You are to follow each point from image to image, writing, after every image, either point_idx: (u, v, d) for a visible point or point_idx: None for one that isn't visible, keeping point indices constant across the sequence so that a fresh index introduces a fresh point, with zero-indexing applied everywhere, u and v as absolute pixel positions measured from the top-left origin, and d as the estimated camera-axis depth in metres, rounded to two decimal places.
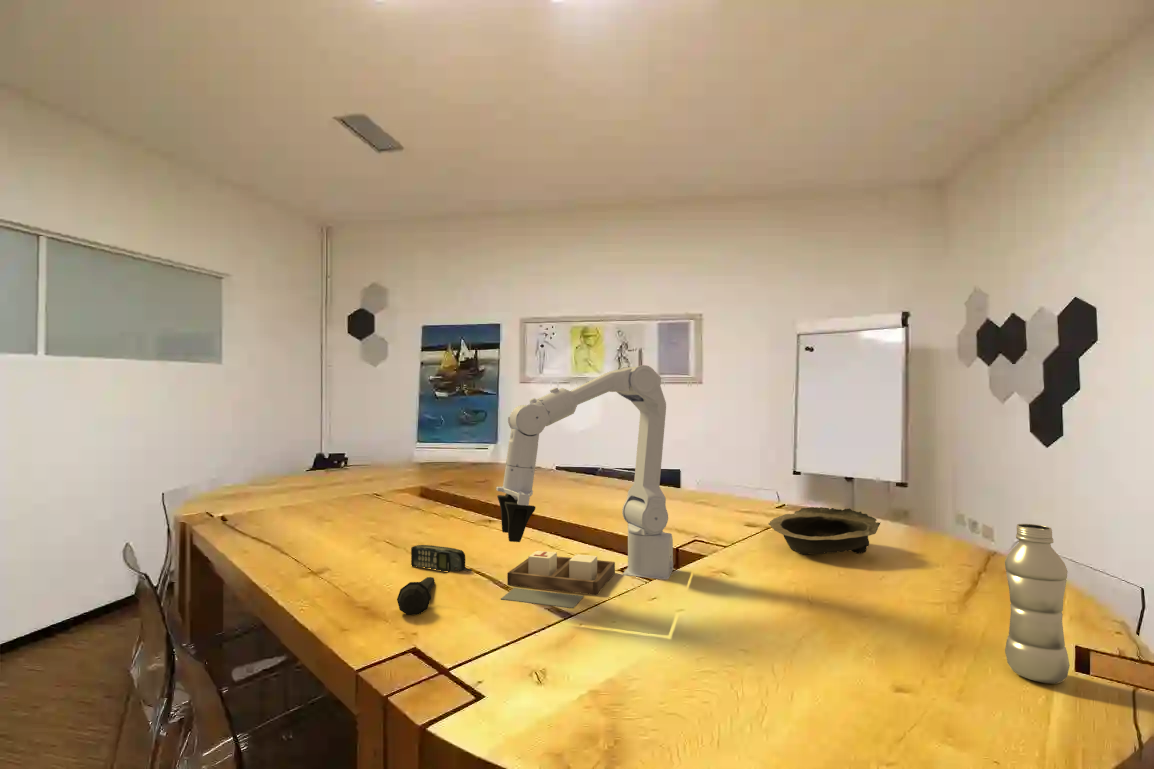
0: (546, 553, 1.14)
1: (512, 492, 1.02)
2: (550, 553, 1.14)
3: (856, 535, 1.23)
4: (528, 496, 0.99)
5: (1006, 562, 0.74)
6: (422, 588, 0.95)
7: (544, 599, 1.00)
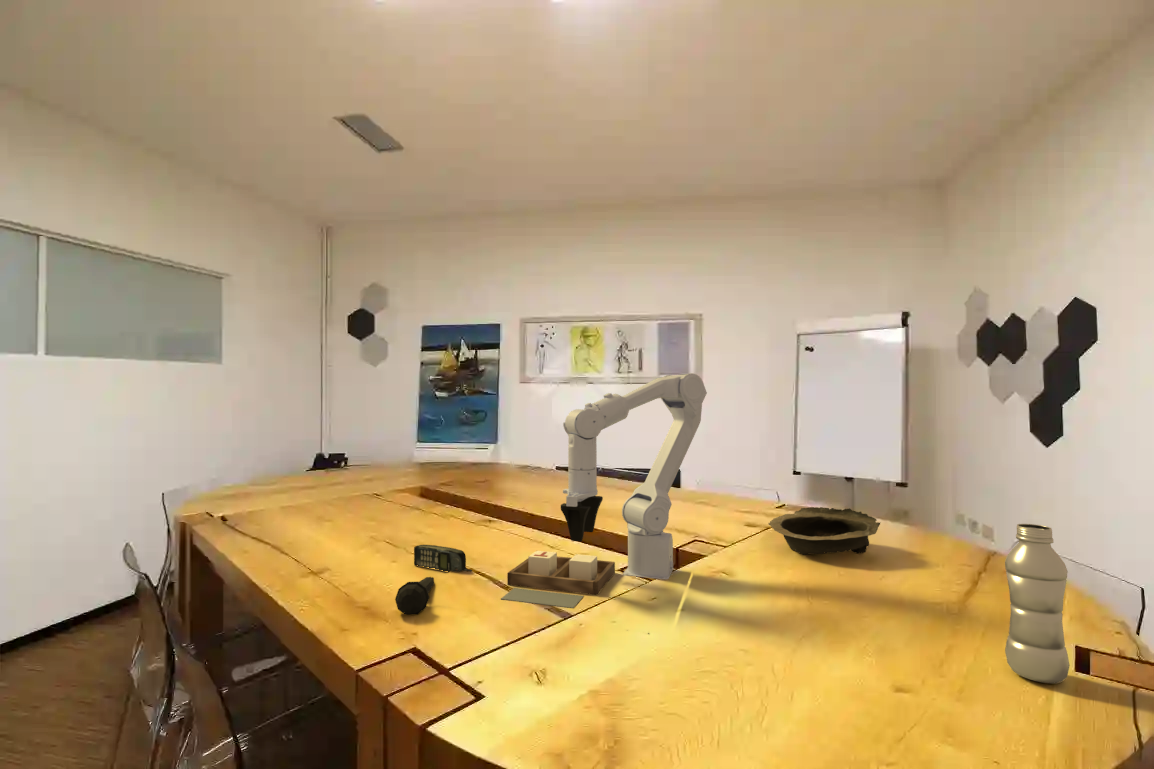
0: (546, 553, 1.14)
1: None
2: (550, 553, 1.14)
3: (856, 535, 1.23)
4: (574, 498, 1.04)
5: (1006, 562, 0.74)
6: (420, 588, 0.95)
7: (544, 599, 1.00)
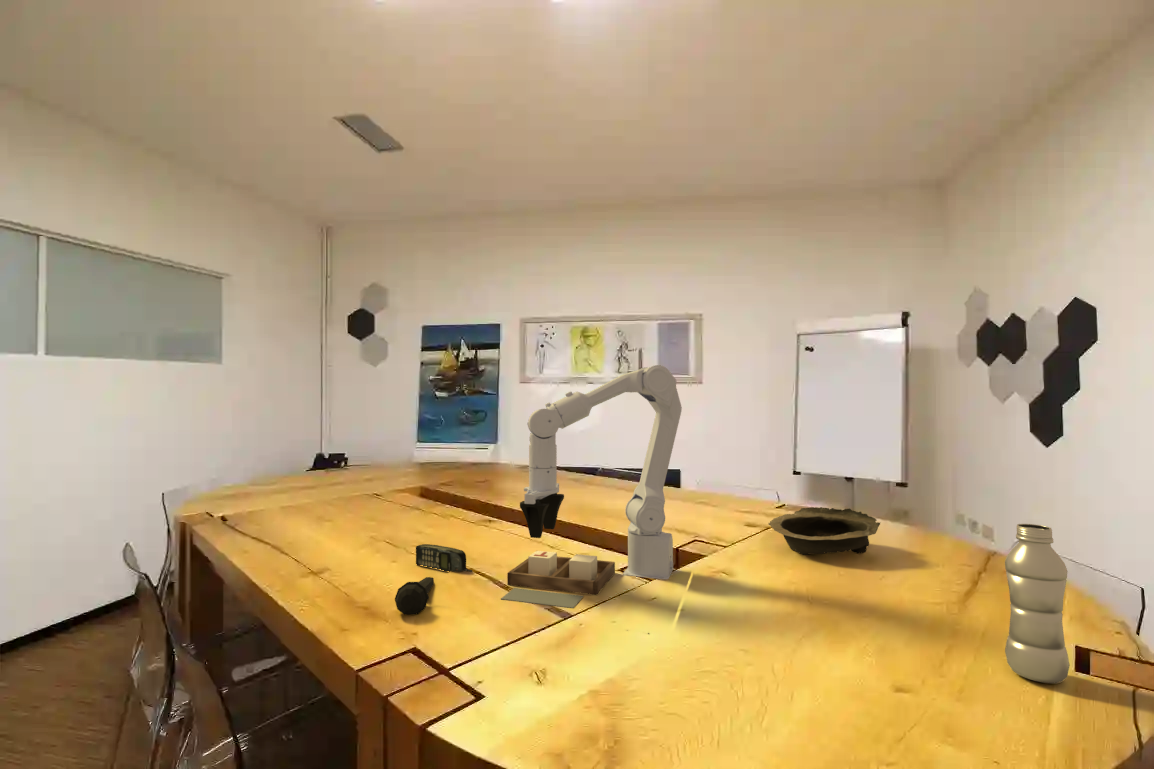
0: (546, 553, 1.14)
1: (527, 492, 1.10)
2: (550, 553, 1.14)
3: (856, 535, 1.23)
4: (532, 495, 1.06)
5: (1006, 562, 0.74)
6: (420, 588, 0.95)
7: (544, 599, 1.00)
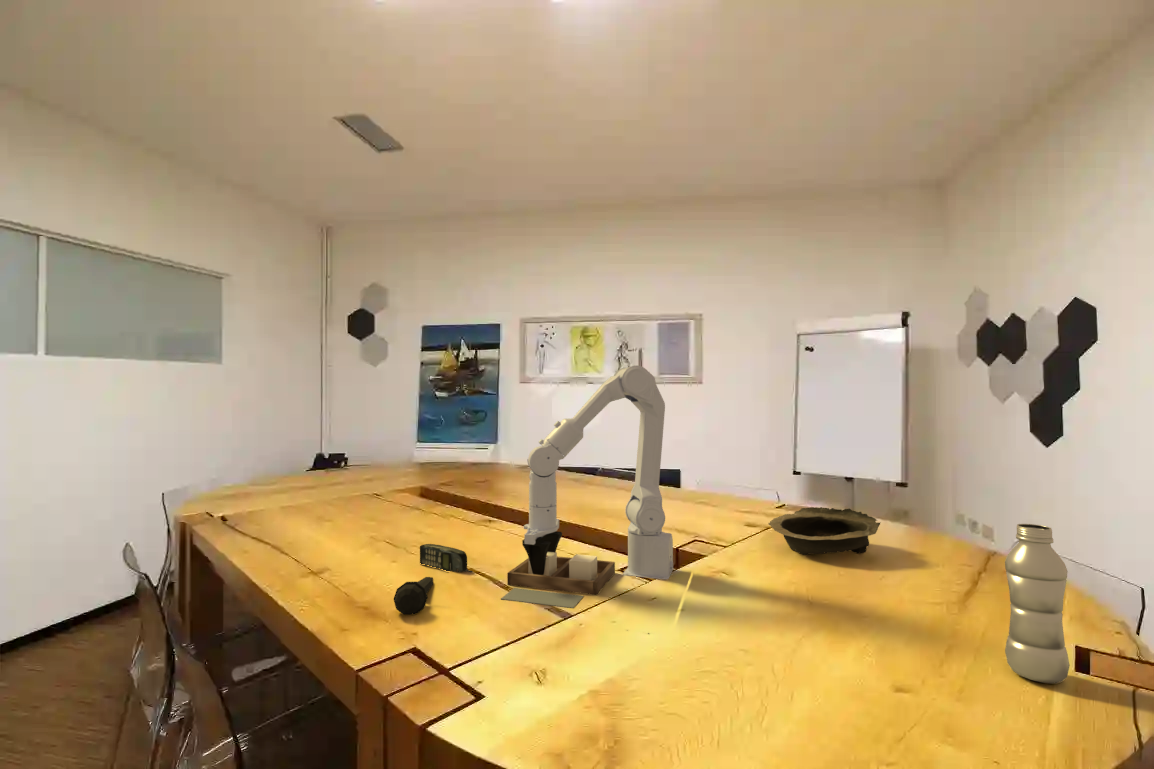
0: None
1: (527, 531, 1.10)
2: (550, 553, 1.14)
3: (856, 535, 1.23)
4: (532, 536, 1.06)
5: (1006, 562, 0.74)
6: (418, 588, 0.95)
7: (544, 599, 1.00)
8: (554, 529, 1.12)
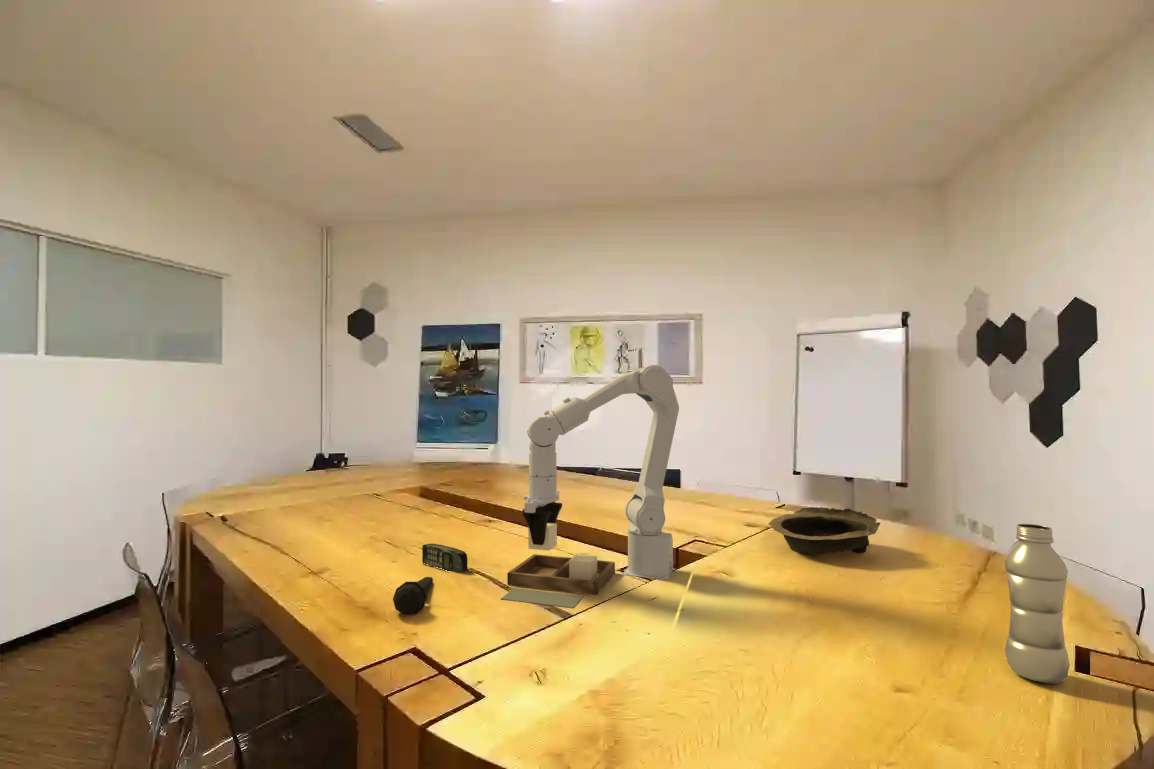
0: None
1: (527, 500, 1.10)
2: (550, 524, 1.14)
3: (856, 535, 1.23)
4: (532, 504, 1.06)
5: (1006, 562, 0.74)
6: (418, 588, 0.95)
7: (544, 599, 1.00)
8: (554, 499, 1.12)
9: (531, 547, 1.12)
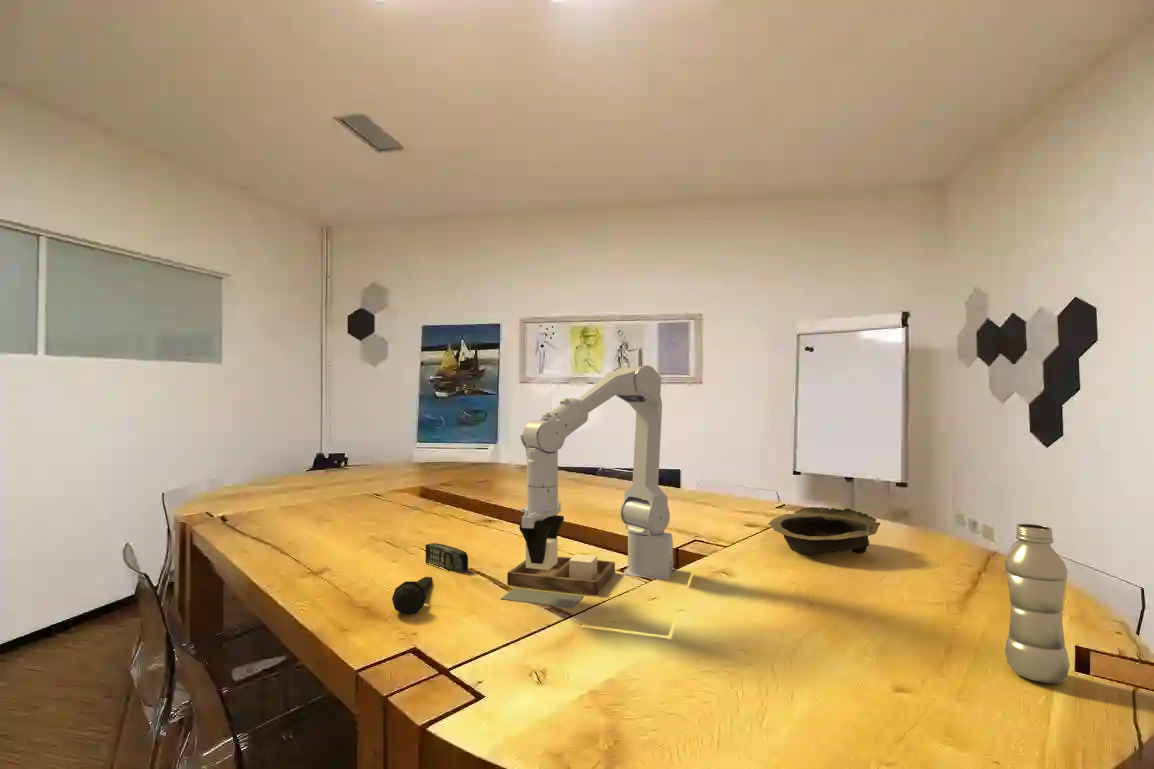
0: None
1: (524, 514, 0.98)
2: (550, 539, 1.02)
3: (856, 535, 1.23)
4: (530, 518, 0.94)
5: (1006, 562, 0.74)
6: (417, 587, 0.95)
7: (544, 599, 1.00)
8: (555, 512, 1.00)
9: (529, 566, 0.99)
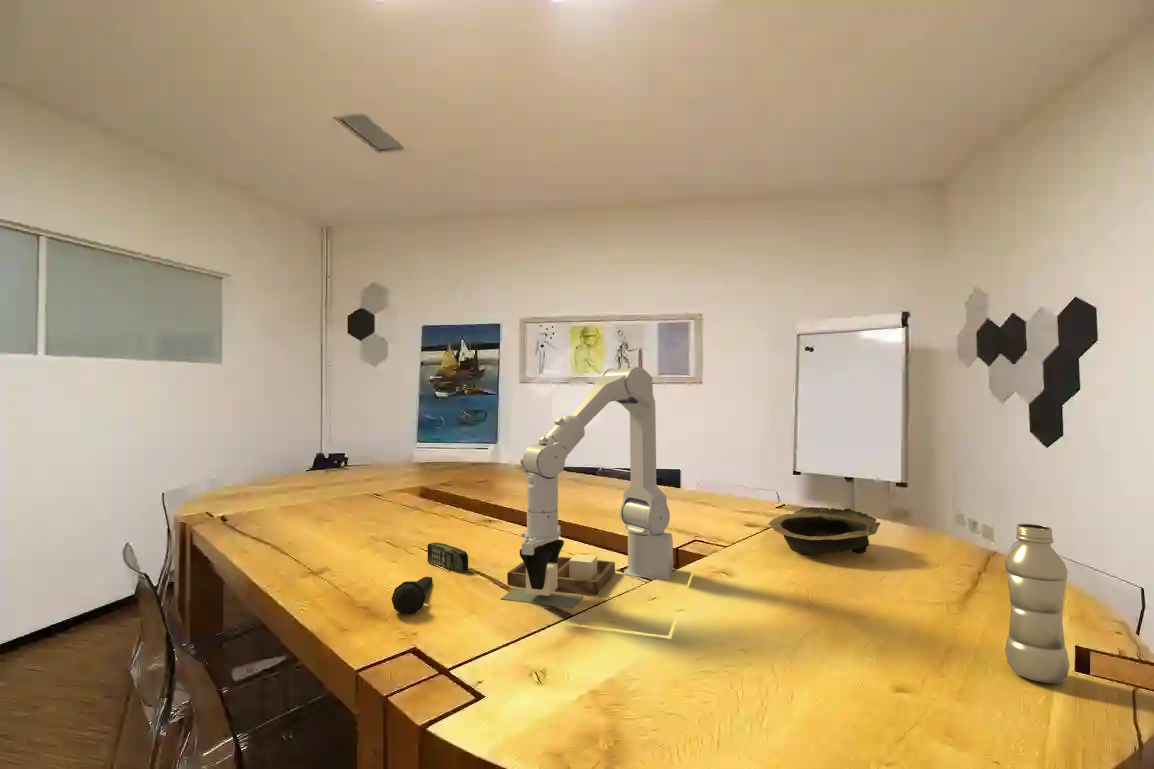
0: None
1: None
2: (550, 564, 1.02)
3: (856, 535, 1.23)
4: (530, 545, 0.94)
5: (1006, 562, 0.74)
6: (416, 587, 0.95)
7: (544, 599, 1.00)
8: (555, 537, 0.99)
9: (529, 591, 0.99)
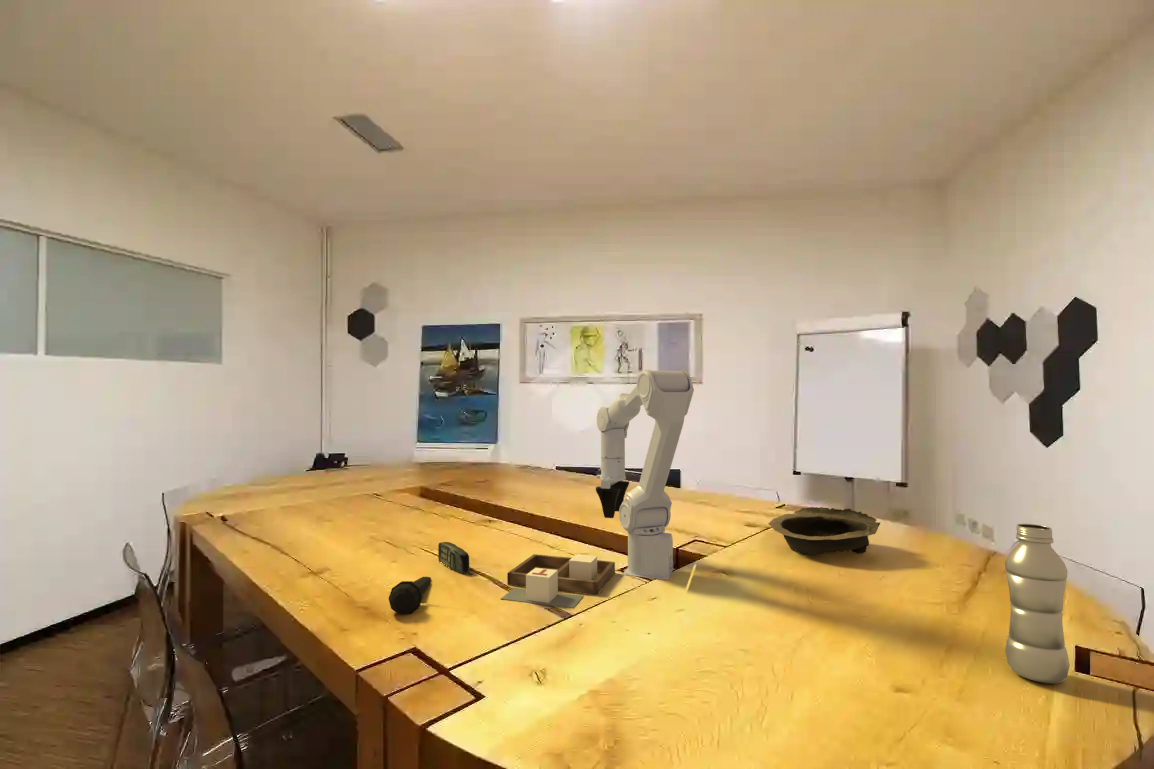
0: (546, 571, 1.02)
1: (601, 479, 1.28)
2: (550, 571, 1.02)
3: (856, 535, 1.23)
4: (608, 481, 1.24)
5: (1006, 562, 0.74)
6: (413, 587, 0.95)
7: None
8: (624, 478, 1.30)
9: (529, 598, 0.99)
